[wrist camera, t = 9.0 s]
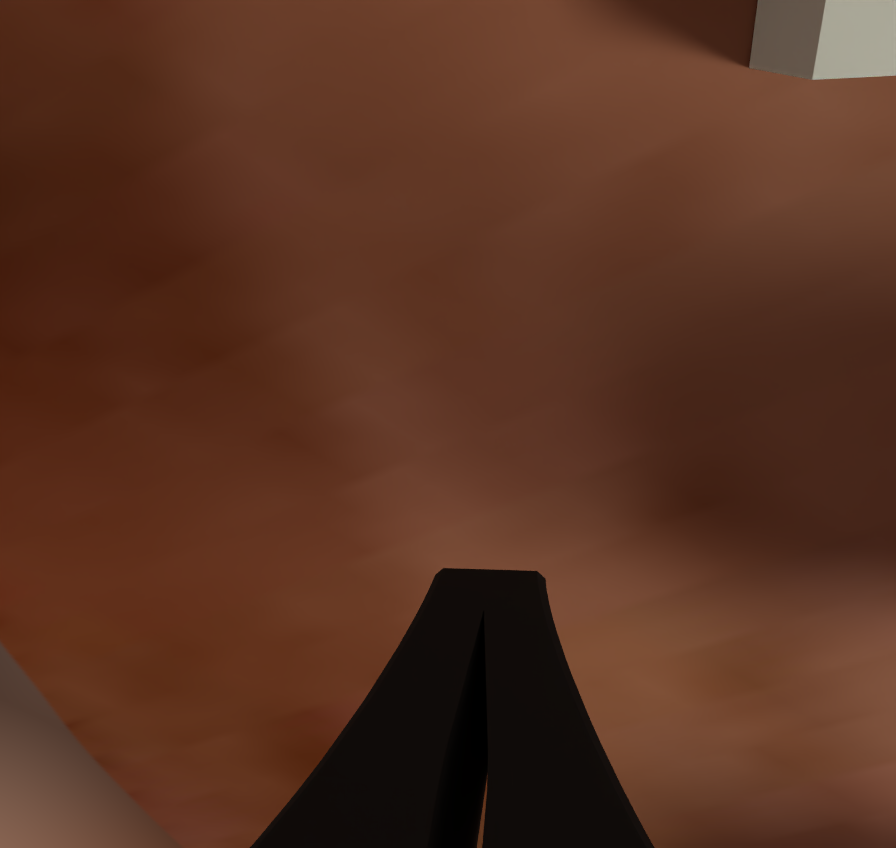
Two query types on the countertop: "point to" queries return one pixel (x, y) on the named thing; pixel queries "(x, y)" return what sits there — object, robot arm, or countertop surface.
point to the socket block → (825, 38)
